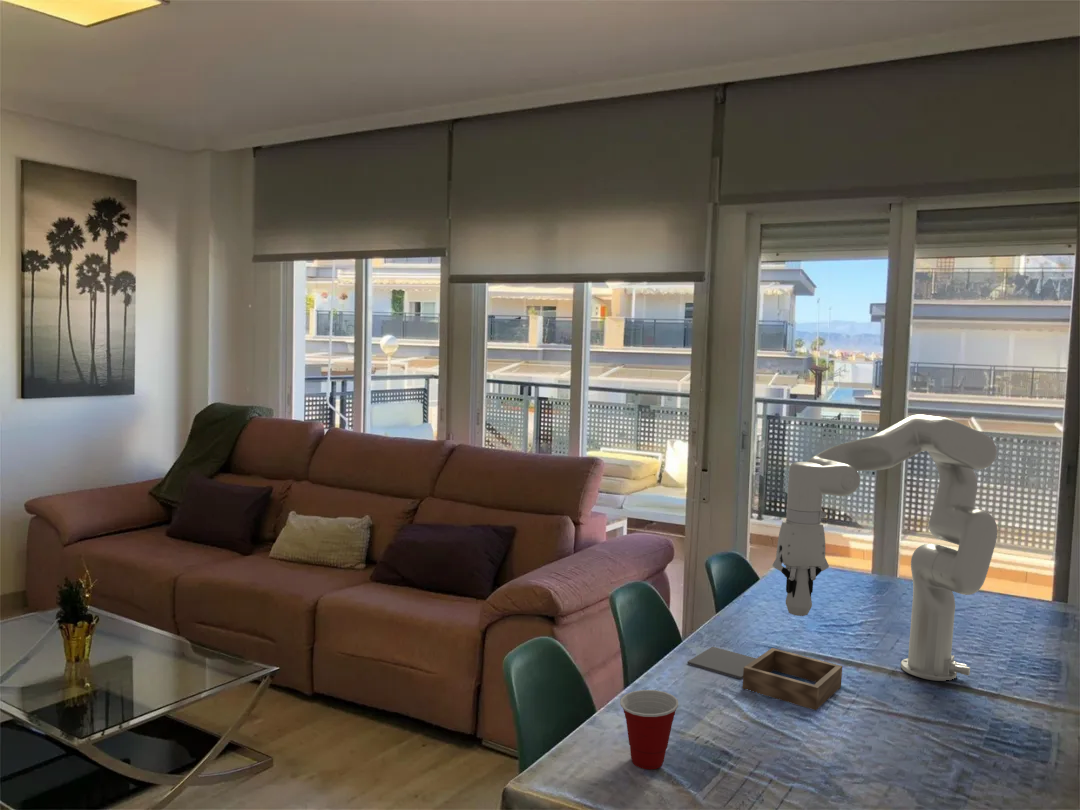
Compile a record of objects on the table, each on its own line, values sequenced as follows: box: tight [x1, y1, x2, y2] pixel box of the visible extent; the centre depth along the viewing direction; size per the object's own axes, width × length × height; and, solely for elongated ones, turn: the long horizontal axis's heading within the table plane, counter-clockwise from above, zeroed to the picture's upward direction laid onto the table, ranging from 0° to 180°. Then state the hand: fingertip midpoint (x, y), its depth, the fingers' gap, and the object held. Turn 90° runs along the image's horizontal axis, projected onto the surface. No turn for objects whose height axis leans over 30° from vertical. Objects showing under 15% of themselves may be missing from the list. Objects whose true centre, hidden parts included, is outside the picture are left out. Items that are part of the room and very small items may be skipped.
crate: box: [741, 647, 843, 711], centre depth 197 cm, size 17×17×5 cm
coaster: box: [687, 646, 758, 680], centre depth 210 cm, size 14×14×1 cm
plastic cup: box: [619, 689, 679, 771], centre depth 158 cm, size 11×11×12 cm
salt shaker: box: [785, 564, 813, 617], centre depth 195 cm, size 6×6×13 cm
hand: (799, 595), depth 195 cm, fingers closed on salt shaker, 3 cm apart
